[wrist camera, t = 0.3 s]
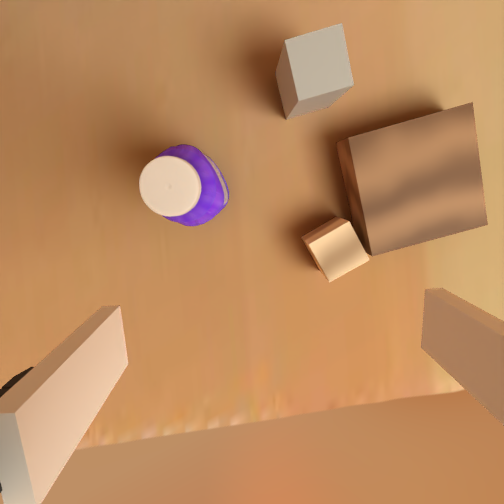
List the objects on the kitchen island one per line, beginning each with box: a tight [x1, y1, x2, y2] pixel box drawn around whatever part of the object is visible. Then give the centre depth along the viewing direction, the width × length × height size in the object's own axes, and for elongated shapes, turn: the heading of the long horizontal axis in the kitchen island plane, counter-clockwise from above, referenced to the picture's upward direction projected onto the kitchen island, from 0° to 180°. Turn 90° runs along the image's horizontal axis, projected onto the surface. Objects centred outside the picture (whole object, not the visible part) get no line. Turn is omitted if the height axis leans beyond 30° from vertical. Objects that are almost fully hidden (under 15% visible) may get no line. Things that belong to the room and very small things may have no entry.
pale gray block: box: [275, 23, 354, 119], centre depth 33 cm, size 5×5×9 cm
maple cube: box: [301, 217, 369, 282], centre depth 39 cm, size 5×5×5 cm
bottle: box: [139, 145, 229, 226], centre depth 31 cm, size 7×6×17 cm
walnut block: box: [336, 102, 488, 256], centre depth 38 cm, size 13×13×5 cm
